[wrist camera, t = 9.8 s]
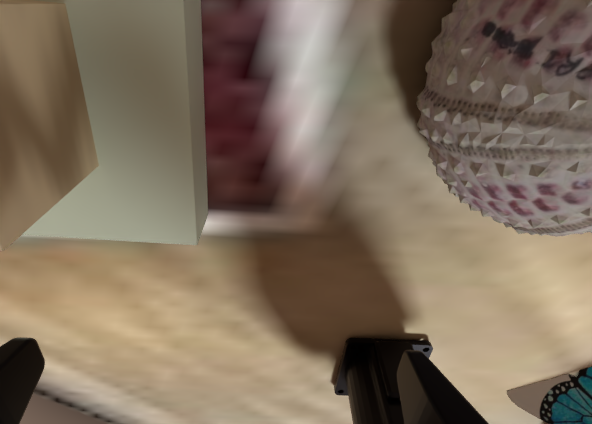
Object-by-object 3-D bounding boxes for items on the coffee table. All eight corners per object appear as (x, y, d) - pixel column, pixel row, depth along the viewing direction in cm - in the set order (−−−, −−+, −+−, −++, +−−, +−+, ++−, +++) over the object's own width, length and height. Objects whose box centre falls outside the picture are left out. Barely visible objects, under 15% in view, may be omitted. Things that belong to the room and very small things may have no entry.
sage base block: (208, 213, 20) (197, 245, 17) (-56, 196, 19) (-110, 227, 16) (196, -113, 13) (175, -142, 10) (-231, -173, 12) (-377, -222, 9)
